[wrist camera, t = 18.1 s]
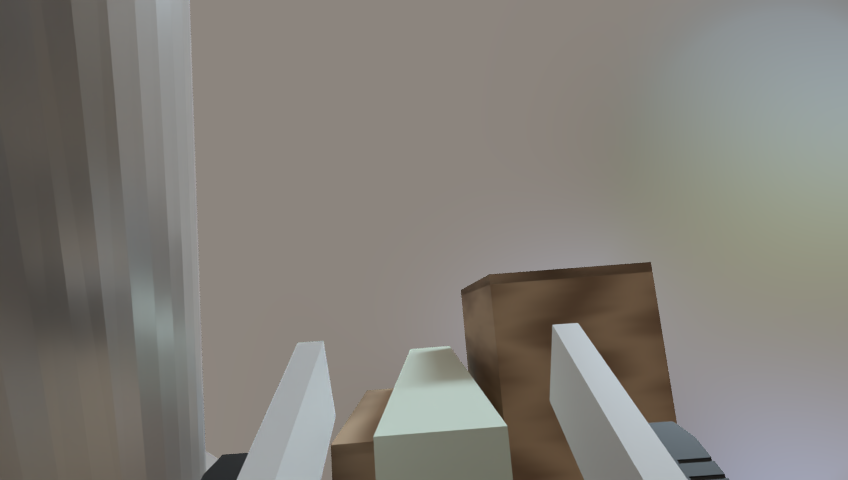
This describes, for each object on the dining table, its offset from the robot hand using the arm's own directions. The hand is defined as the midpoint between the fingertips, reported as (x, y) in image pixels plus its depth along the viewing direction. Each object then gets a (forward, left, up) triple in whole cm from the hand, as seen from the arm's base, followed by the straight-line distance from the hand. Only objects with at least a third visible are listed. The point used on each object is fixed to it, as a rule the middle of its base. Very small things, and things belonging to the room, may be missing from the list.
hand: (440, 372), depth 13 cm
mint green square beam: (0, +16, -5) cm, 17 cm away
